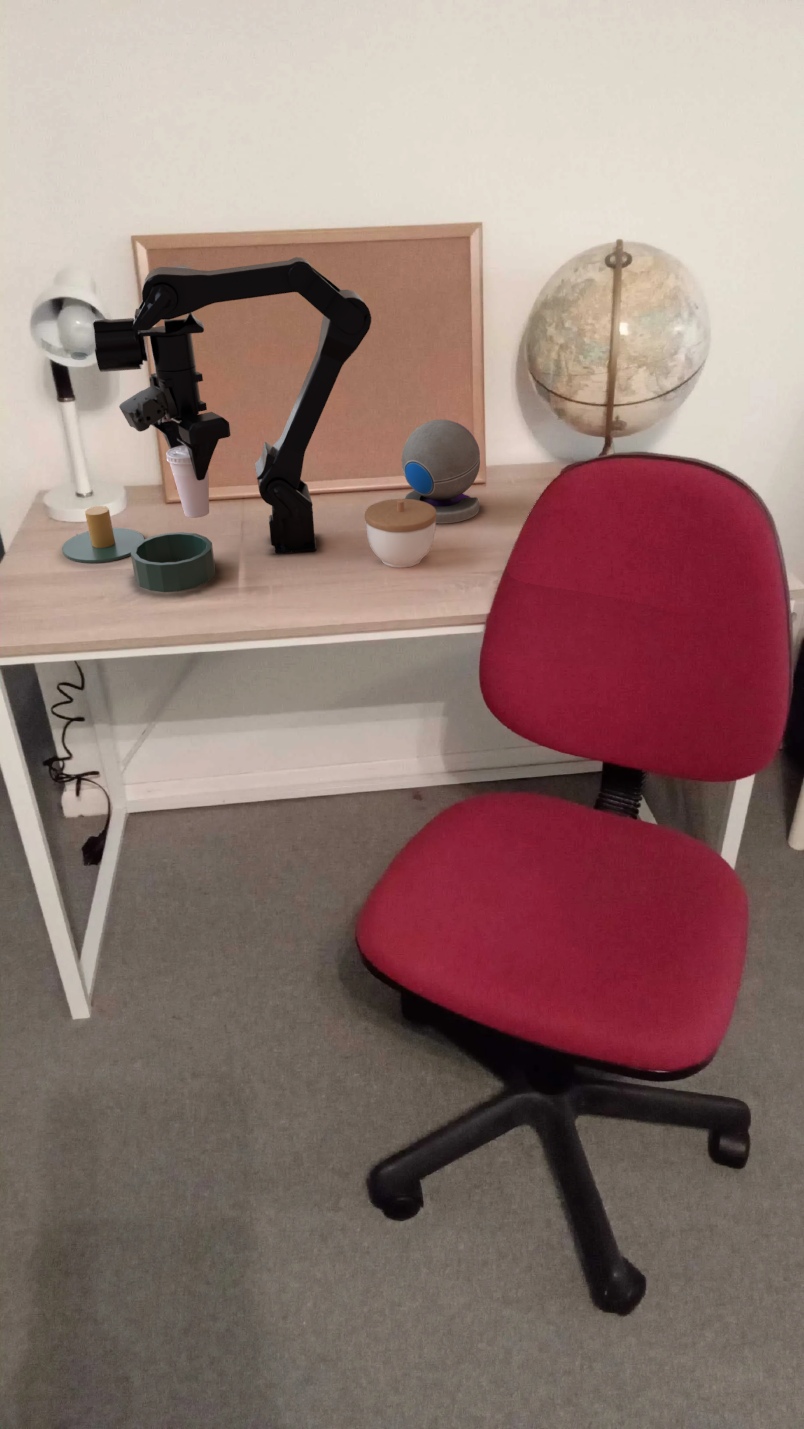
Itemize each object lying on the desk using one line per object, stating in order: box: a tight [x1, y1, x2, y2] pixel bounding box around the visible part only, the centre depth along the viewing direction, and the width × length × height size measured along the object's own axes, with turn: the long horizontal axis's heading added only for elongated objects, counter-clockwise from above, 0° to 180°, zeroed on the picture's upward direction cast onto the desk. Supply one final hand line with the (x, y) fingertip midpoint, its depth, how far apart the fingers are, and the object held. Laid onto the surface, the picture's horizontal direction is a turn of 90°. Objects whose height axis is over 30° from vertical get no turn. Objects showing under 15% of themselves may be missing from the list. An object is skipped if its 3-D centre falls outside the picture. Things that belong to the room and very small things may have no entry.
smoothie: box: [165, 445, 210, 519], centre depth 147 cm, size 6×6×14 cm
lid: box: [61, 505, 145, 564], centre depth 155 cm, size 13×13×7 cm
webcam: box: [401, 418, 481, 524], centre depth 164 cm, size 13×13×15 cm
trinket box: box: [364, 498, 437, 569], centre depth 149 cm, size 11×11×9 cm
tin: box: [130, 531, 216, 593], centre depth 146 cm, size 12×12×5 cm
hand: (191, 473), depth 148 cm, fingers closed on smoothie, 6 cm apart
